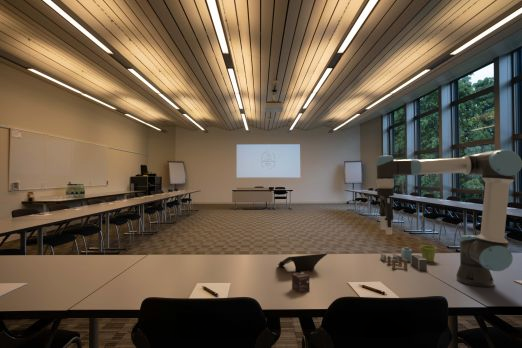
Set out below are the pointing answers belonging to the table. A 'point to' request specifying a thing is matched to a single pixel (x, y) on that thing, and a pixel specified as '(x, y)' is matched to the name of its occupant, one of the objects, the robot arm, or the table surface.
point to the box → (300, 282)
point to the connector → (406, 254)
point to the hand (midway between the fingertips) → (386, 231)
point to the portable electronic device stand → (303, 262)
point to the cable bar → (418, 262)
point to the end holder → (391, 258)
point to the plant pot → (428, 252)
